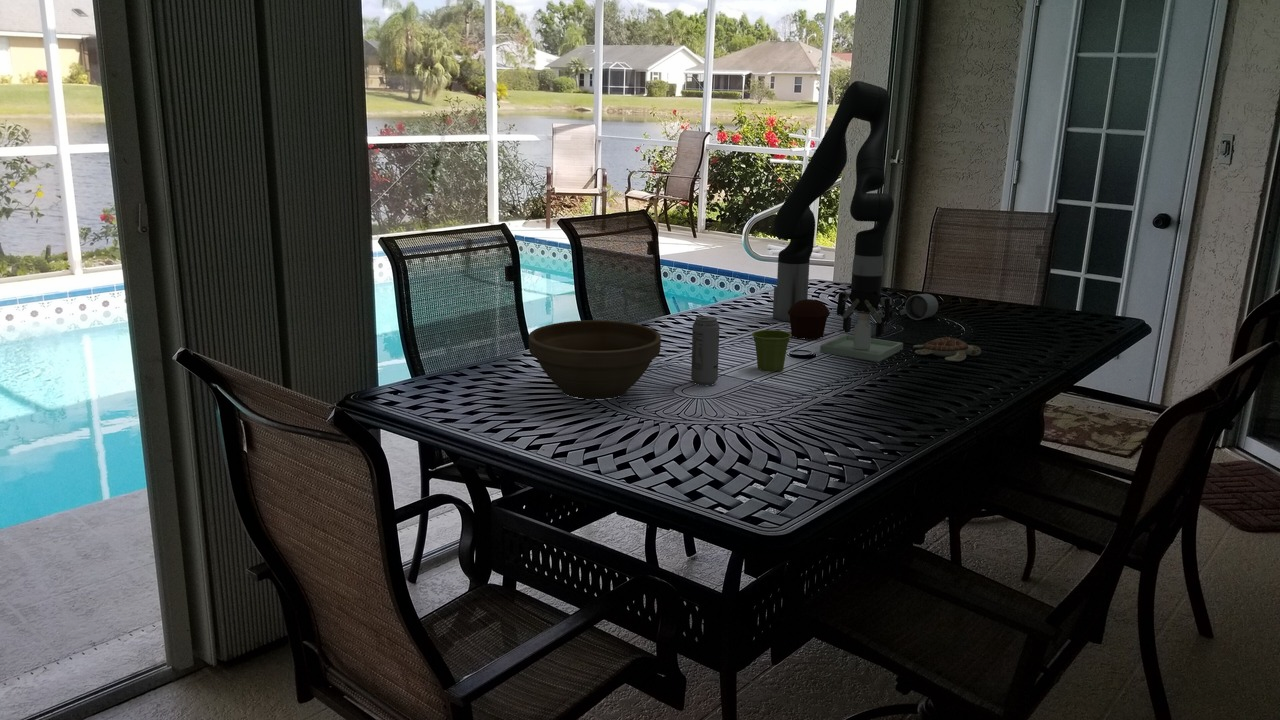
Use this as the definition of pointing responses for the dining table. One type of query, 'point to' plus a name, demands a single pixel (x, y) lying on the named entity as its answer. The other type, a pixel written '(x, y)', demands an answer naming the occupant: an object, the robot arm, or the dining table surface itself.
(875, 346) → the tray
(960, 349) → the decorative turtle
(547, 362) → the flower pot
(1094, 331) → the dining table surface
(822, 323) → the muffin
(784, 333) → the plant pot
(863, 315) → the pepper shaker
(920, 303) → the ceramic mug
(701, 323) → the energy drink can
